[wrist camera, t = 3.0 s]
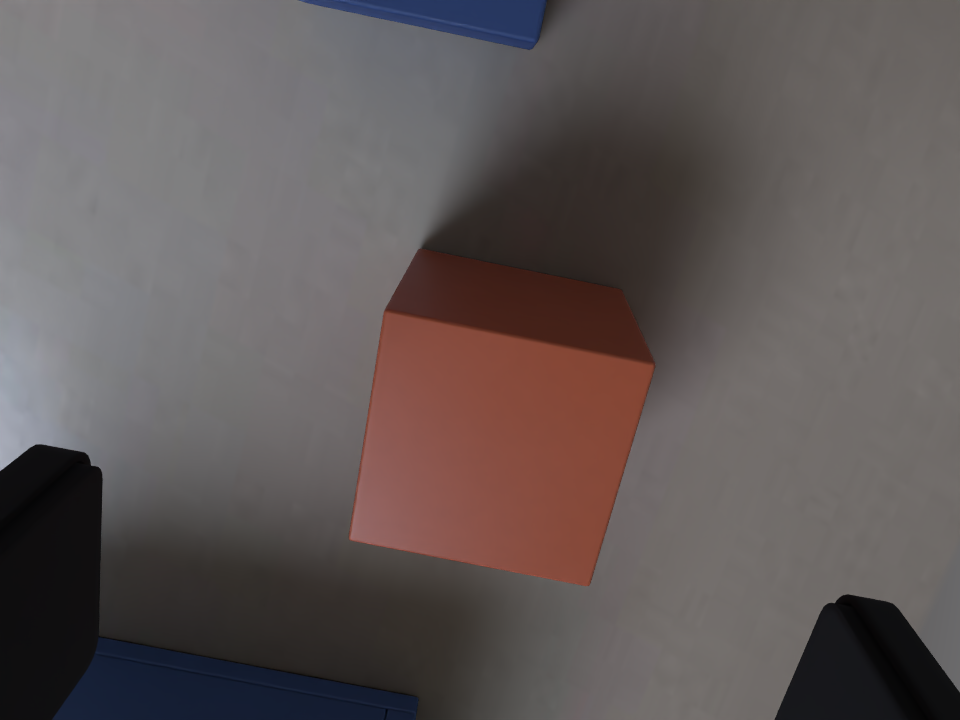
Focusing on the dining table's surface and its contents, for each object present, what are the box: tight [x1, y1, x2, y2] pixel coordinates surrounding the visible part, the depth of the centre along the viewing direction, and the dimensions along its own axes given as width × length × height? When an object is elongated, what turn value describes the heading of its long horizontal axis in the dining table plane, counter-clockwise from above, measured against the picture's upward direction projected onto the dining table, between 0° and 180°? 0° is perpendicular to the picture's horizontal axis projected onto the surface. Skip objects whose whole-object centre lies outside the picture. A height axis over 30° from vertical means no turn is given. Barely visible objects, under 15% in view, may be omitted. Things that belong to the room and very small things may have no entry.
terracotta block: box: [349, 249, 655, 586], centre depth 16 cm, size 5×5×5 cm
